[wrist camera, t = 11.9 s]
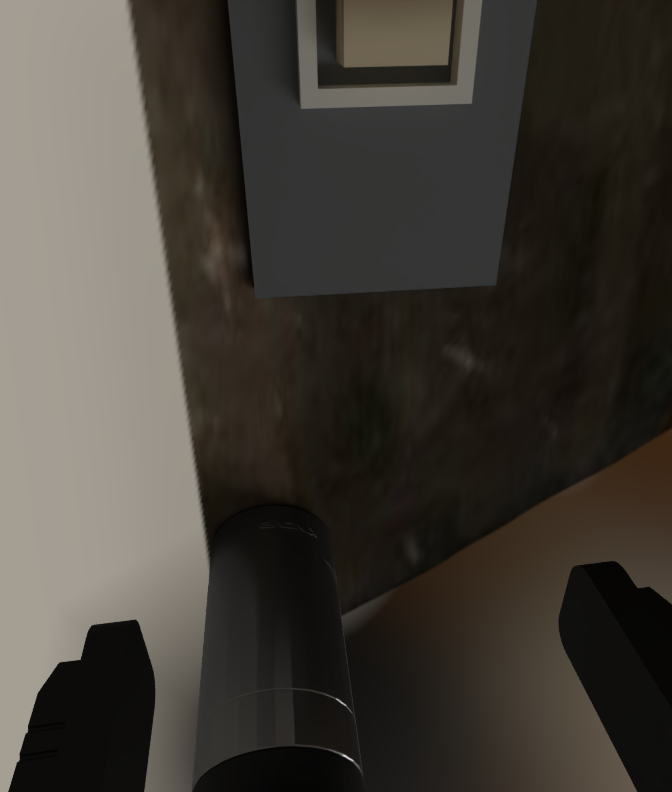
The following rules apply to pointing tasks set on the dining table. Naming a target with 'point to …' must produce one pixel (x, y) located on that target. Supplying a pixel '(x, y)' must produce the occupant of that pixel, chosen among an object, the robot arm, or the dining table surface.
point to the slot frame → (389, 94)
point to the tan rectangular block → (393, 32)
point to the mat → (374, 160)
